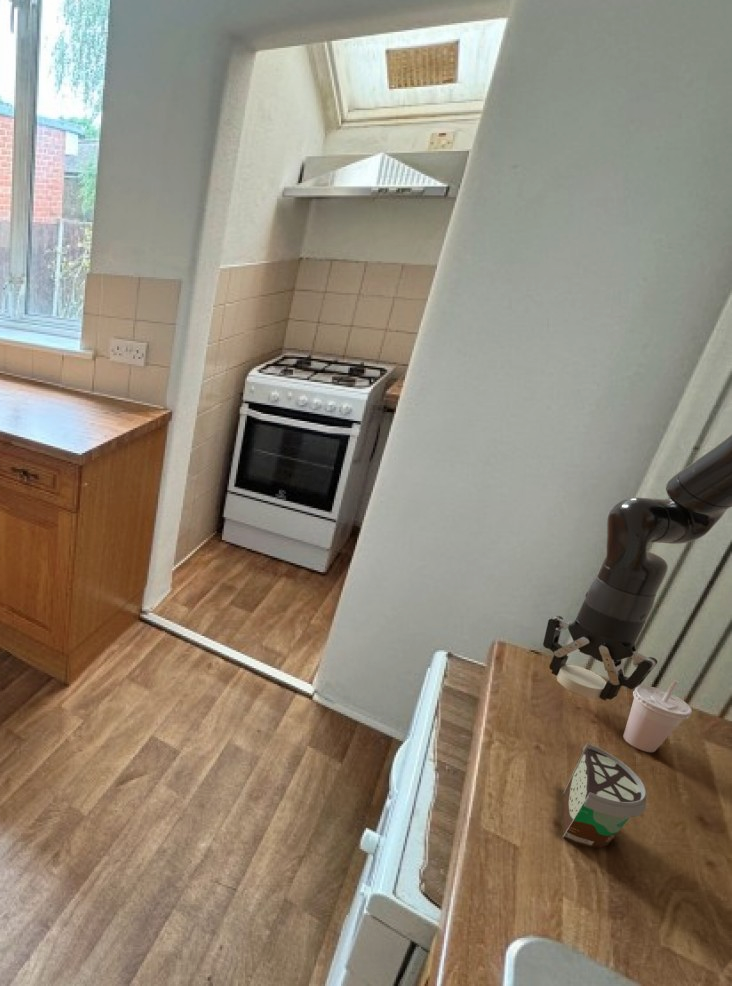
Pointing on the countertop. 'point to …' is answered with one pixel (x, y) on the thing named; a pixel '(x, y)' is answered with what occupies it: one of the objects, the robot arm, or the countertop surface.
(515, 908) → the countertop surface
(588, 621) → the robot arm
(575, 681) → the cream round lid
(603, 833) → the food container
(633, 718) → the smoothie
